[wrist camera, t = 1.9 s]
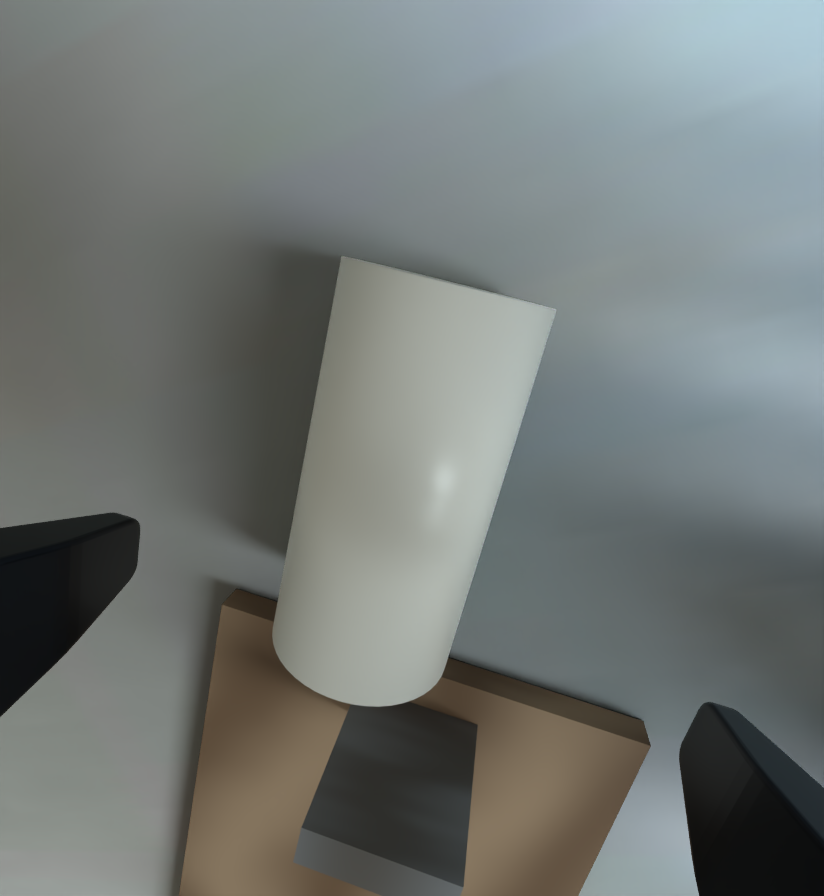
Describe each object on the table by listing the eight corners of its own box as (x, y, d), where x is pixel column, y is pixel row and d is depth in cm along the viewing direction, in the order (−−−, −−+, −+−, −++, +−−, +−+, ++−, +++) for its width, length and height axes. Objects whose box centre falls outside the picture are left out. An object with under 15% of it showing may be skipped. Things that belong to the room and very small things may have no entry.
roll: (587, 316, 13) (489, 295, 9) (477, 650, 16) (368, 742, 12) (425, 274, 16) (294, 244, 12) (356, 569, 19) (234, 623, 15)
